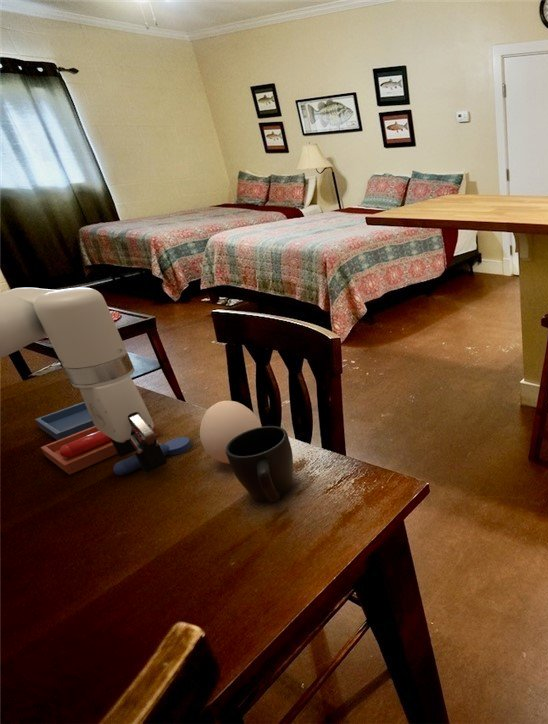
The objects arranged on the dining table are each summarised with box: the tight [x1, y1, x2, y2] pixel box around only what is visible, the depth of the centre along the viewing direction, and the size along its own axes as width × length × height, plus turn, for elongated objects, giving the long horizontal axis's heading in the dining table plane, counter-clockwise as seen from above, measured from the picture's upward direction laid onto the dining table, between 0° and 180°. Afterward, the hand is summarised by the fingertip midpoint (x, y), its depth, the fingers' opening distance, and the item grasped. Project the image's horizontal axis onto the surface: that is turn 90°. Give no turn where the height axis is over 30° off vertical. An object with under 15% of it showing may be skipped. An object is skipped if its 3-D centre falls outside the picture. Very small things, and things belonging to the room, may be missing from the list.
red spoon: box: [59, 430, 138, 458], centre depth 85 cm, size 11×4×2 cm, turn 150°
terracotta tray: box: [40, 425, 159, 476], centre depth 86 cm, size 13×10×2 cm
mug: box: [225, 425, 294, 503], centre depth 72 cm, size 8×12×10 cm
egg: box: [199, 400, 262, 464], centre depth 80 cm, size 9×9×12 cm
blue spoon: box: [112, 436, 192, 477], centre depth 82 cm, size 11×4×2 cm, turn 150°
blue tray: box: [34, 401, 95, 441], centre depth 94 cm, size 13×10×2 cm
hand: (142, 459), depth 81 cm, fingers open, 8 cm apart
